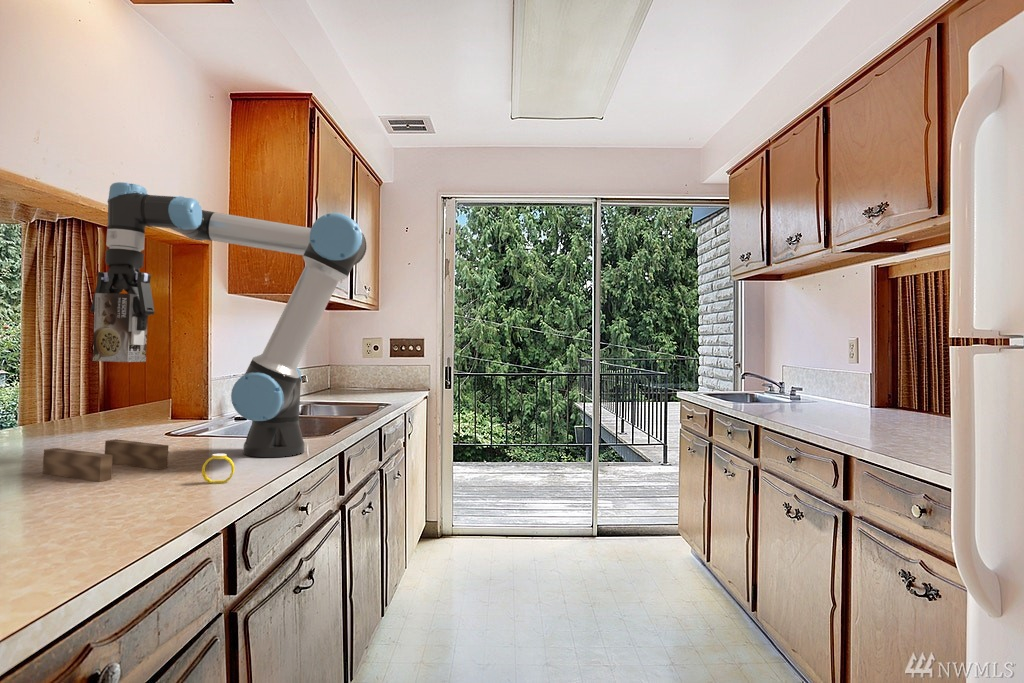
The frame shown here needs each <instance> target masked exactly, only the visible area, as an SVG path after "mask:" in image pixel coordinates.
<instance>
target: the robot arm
mask: <svg viewBox="0 0 1024 683" xmlns="http://www.w3.org/2000/svg"><path fill="white" fill-rule="evenodd" d="M106 227H107V228H106V230H107V231H106V244H105V245H106V247H107V249H106V250H105V264H106V265H107V266H108V267H109V268H108V270H107V272H103V271H102V272H101V271H98V272H97V276H96V277H97V283H96V286H95V290H94V294H93V298H92V301H91V302H92V303H91V307H90V312H91V313H95V293H122V292H123V291H125V292H126V294H139V295H138V296H136V297H133V310H134V312H135V314H133V316H137V317H132V333H131V345H144V331H145V330H146V319H147V317H148V318H149V316H151V315H152V316H153V315H154V314H155V307H154V306H155V304H154V299H153V295H152V294H153V292H152V288H151V287H152V286H151V276H152V275H151V273H149V272H142V271H140V270H141V269H142V268H143V267H144V257H145V256H144V253H143V252H142V251H144V250H145V236H146V235H145V233H146V232H145V231H146V227H151V228H153V227H154V228H164V229H170V230H173V231H175V232H177V233H178V234H179V233H180V234H182V235H184V236H185V237H187V238H189V239H191V240H195V241H196V240H197V241H213V242H219V243H224V244H231V245H238V246H243V247H250V248H256V249H263V250H268V251H275V252H281V253H286V254H292V255H297V256H302V258H303V261H304V264H305V266H304V268H303V270H302V272H301V274H300V276H299V279H298V280H297V283H295V284H296V285H295V286H294V289H293V290H292V292H291V294H290V297H289V298H288V301H287V303H286V305H285V307H284V309H283V311H282V312H281V315H280V317H279V319H278V321H277V323H276V325H275V326H274V329H273V332H272V333H271V335H270V338H269V339H268V342H267V344H266V346H265V347H264V349H263V352H262V353H261V354H259V355H257V356H253V357H252V359H251V361H250V363H249V364H248V366H247V369H246V371H245V373H244V374H243V375H242V376H241V377H239V378H237V380H236V382H235V383H234V385H233V387H232V389H231V393H230V401H231V404H232V406H233V408H234V409H235V410H234V411H235V412H236V413H238V415H240V416H241V418H244V419H246V420H248V421H251V425H250V428H249V431H248V433H247V436H246V439H245V442H244V443H243V450H242V453H243V455H246V456H248V457H255V458H256V457H257V458H286V457H292V455H293V456H297V455H296V454H298V455H301V454H304V452H305V442H304V438H303V433H302V430H301V427H300V403H301V388H302V387H301V384H302V372H301V369H300V368H298V365H300V362H301V359H302V357H303V355H304V353H305V351H306V349H307V347H308V346H309V343H310V341H311V339H312V337H313V335H314V333H315V331H316V329H317V327H318V324H319V322H320V320H321V318H322V316H323V314H324V313H325V310H326V308H327V306H328V304H329V301H330V300H331V299H332V295H333V293H334V292H335V290H336V288H337V285H338V284H339V282H340V281H342V280H345V279H347V278H348V277H349V275H350V273H351V271H352V269H353V267H354V266H356V265H357V264H359V263H360V262H361V261H362V260H363V259H364V256H365V255H366V252H367V241H366V237H365V234H364V233H363V232H362V229H361V227H360V226H359V224H358V223H357V222H356V221H355V220H354V219H352V218H351V217H350V216H348V215H346V214H343V213H339V212H331V213H325V214H323V215H321V216H320V217H319V218H317V219H316V220H314V222H313V223H312V226H311V227H307V226H302V225H301V226H299V225H294V224H289V223H282V222H276V221H270V220H264V219H258V218H254V217H253V218H251V217H246V216H240V215H236V214H235V215H234V214H229V213H228V214H227V213H222V212H214V211H209V210H205V209H202V206H201V205H200V202H199V201H198V200H197V199H195V198H192V197H185V196H183V195H182V196H171V195H169V196H168V195H156V194H153V195H152V194H148V190H147V189H146V187H144V186H143V185H140V184H136V183H129V182H121V181H120V182H119V181H118V182H117V181H116V182H114V183H111V185H109V192H108V199H107V226H106ZM147 308H148V309H147ZM300 453H301V454H300ZM285 456H286V457H285Z"/></svg>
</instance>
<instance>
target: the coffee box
mask: <svg viewBox="0 0 1024 683" xmlns="http://www.w3.org/2000/svg"><path fill="white" fill-rule="evenodd" d="M94 294H95V313H94V312H93V313H94V314H93V316H94V318H93V345H92V346H93V348H92V362H93V361H94V362H115V363H146V361H147V342H148V321H149V316H148V317H147V319H146V330H145V331H144V345H131V333H132V317H137V316H133V314H135V312H134V310H133V297H136V296H138V295H139V294H127V293H122V292H120V293H95V292H94ZM147 309H148V308H147Z"/></svg>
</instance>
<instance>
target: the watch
mask: <svg viewBox="0 0 1024 683" xmlns="http://www.w3.org/2000/svg"><path fill="white" fill-rule="evenodd" d="M212 460H225V461H227V462H228V463H229V465H230V467H231V472H230V475H229V477H227V478H226V479H223V480H219V479H217V480H212V479H211V478H209V477H208V475H207V474H206V467H207V465H208V463H209V462H210V461H212ZM235 470H236V469H235V463H234V462H233V460H232V459H231V458H230V457H228V456H227V453H213V454H211V457H208V459H206V460H205V462H204V463H203V465H202V468H201V475H202V478H203V480H205V481H206V482H207V483H208V484H226V483H227V482H228V481H230V480H231V479H232V477H233V476H234V473H235Z"/></svg>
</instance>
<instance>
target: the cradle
mask: <svg viewBox="0 0 1024 683" xmlns="http://www.w3.org/2000/svg"><path fill="white" fill-rule="evenodd" d="M104 442H105V444H104V453H99V452H91V451H84V450H75V449H69V448H62V447H61V448H60V447H54V448H53V447H52V448H46V449H43V458H42V459H43V462H42V474H44V475H51V476H56V477H63V478H64V477H65V478H70V479H79V480H84V481H85V480H86V481H92V482H98V483H99V482H106V481H110V480H112V475H113V474H112V473H113V470H112V469H113V464H115V465H122V466H129V467H138V468H144V469H145V468H146V469H153V470H161V469H166V468H168V465H169V463H168V462H169V461H168V460H169V445H168V444H162V443H160V444H158V443H150V442H141V441H132V440H126V439H125V440H123V439H118V438H117V439H116V438H115V439H108V440H104Z"/></svg>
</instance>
